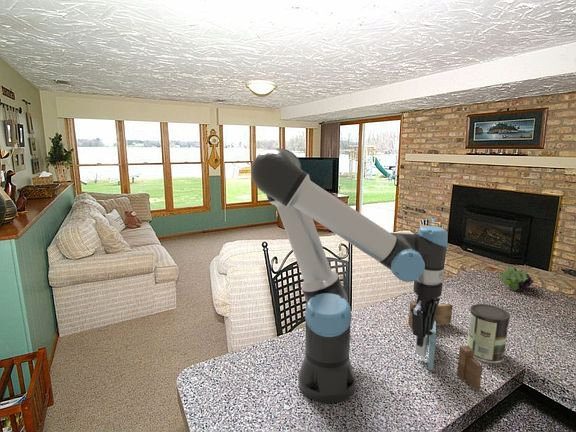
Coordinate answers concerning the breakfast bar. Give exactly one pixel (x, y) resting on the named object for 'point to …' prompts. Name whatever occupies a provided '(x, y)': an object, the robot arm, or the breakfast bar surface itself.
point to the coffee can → (488, 332)
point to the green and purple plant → (516, 279)
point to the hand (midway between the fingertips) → (420, 353)
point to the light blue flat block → (432, 346)
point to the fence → (466, 363)
